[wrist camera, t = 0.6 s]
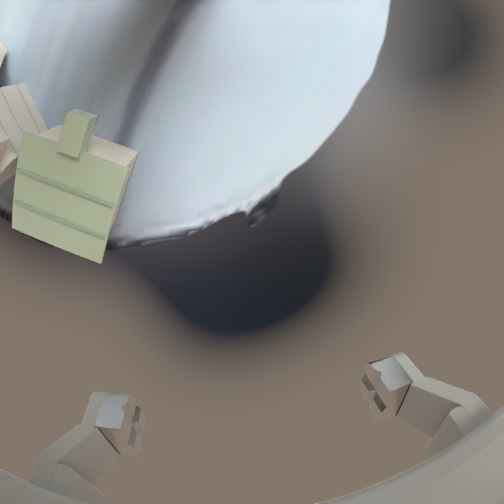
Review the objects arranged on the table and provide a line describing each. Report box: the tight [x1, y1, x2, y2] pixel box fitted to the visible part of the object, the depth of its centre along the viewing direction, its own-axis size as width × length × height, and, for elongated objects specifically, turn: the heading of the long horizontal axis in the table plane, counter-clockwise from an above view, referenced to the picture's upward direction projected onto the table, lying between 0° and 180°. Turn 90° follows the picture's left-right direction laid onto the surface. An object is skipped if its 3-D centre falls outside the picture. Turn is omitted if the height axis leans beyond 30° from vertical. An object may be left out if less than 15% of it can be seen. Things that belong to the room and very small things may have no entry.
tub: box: [38, 125, 139, 230], centre depth 41 cm, size 16×18×12 cm
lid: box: [12, 109, 130, 264], centre depth 35 cm, size 24×20×4 cm
